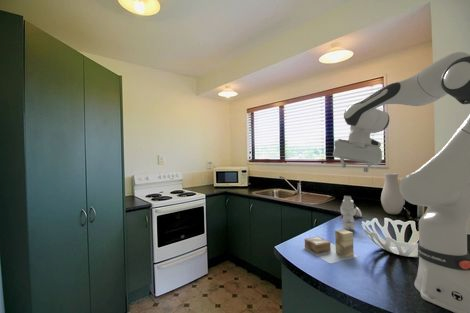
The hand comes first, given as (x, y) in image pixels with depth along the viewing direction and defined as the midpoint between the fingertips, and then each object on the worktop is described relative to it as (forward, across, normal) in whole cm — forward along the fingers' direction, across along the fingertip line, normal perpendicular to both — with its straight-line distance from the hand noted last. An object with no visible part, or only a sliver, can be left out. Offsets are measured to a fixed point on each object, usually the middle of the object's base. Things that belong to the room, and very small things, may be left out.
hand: (354, 169), depth 100 cm
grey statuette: (+26, +11, +40) cm, 49 cm away
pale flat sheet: (+40, -4, +7) cm, 40 cm away
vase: (+4, +49, +81) cm, 95 cm away
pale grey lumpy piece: (+14, +20, +70) cm, 74 cm away
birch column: (+38, +2, +5) cm, 38 cm away
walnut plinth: (+40, -8, +9) cm, 42 cm away
